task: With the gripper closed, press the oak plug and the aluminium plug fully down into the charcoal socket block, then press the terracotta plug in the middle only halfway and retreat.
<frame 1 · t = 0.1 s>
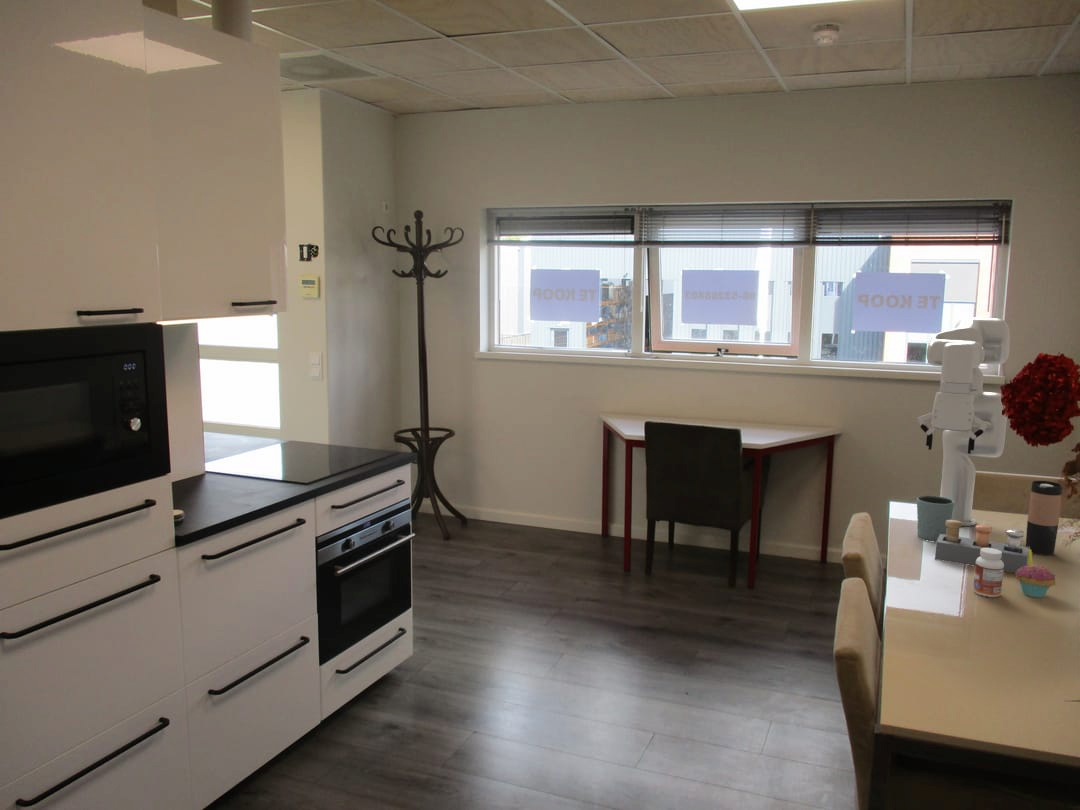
hand: (949, 450, 228), 31 cm above the table, tool pointing down, fingers open, 9 cm apart
travel mug: (1039, 551, 242), on the table
green tapered cup: (931, 538, 253), on the table
socket block: (980, 562, 232), on the table
cupcake: (1033, 594, 209), on the table
oak plug: (952, 532, 234), point 7 cm above the table, slide at 0.0 cm
terracotta plug: (982, 536, 231), point 7 cm above the table, slide at 0.0 cm
aluminium plug: (1013, 541, 227), point 7 cm above the table, slide at 0.0 cm
pill bottle: (986, 594, 209), on the table
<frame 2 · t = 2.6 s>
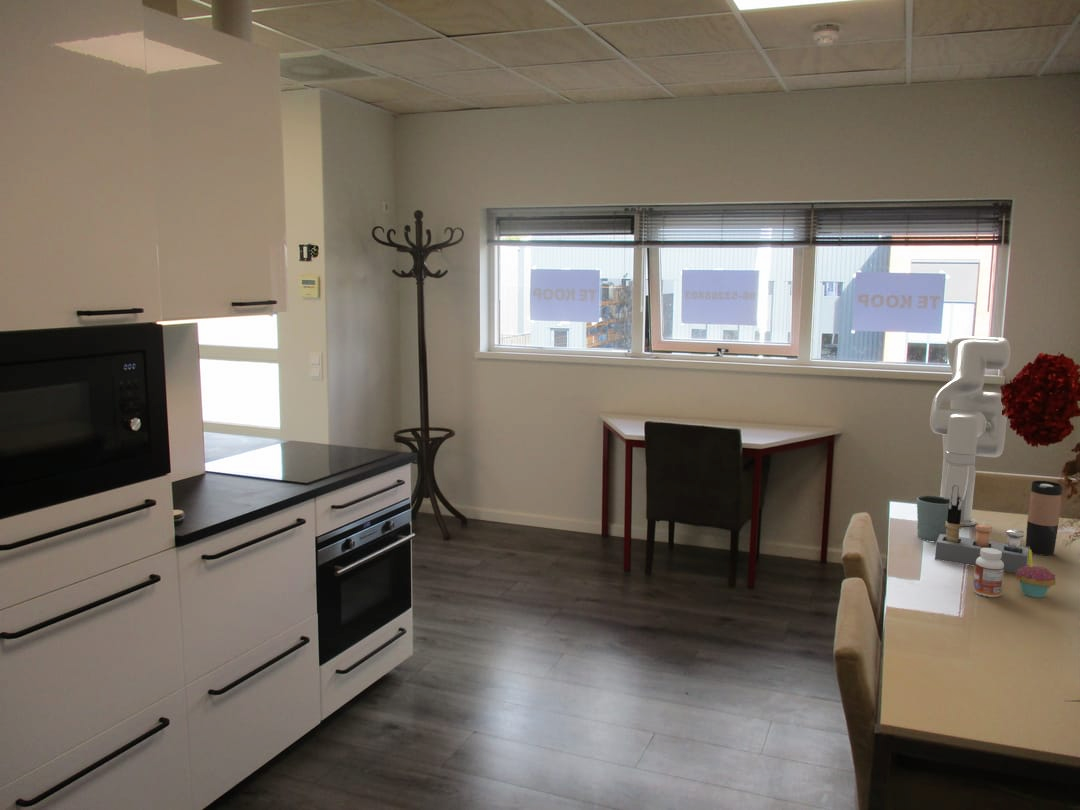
hand: (953, 522, 234), 10 cm above the table, tool pointing down, fingers closed
oak plug: (952, 533, 234), point 7 cm above the table, slide at 0.3 cm, touching gripper
everything else where it was.
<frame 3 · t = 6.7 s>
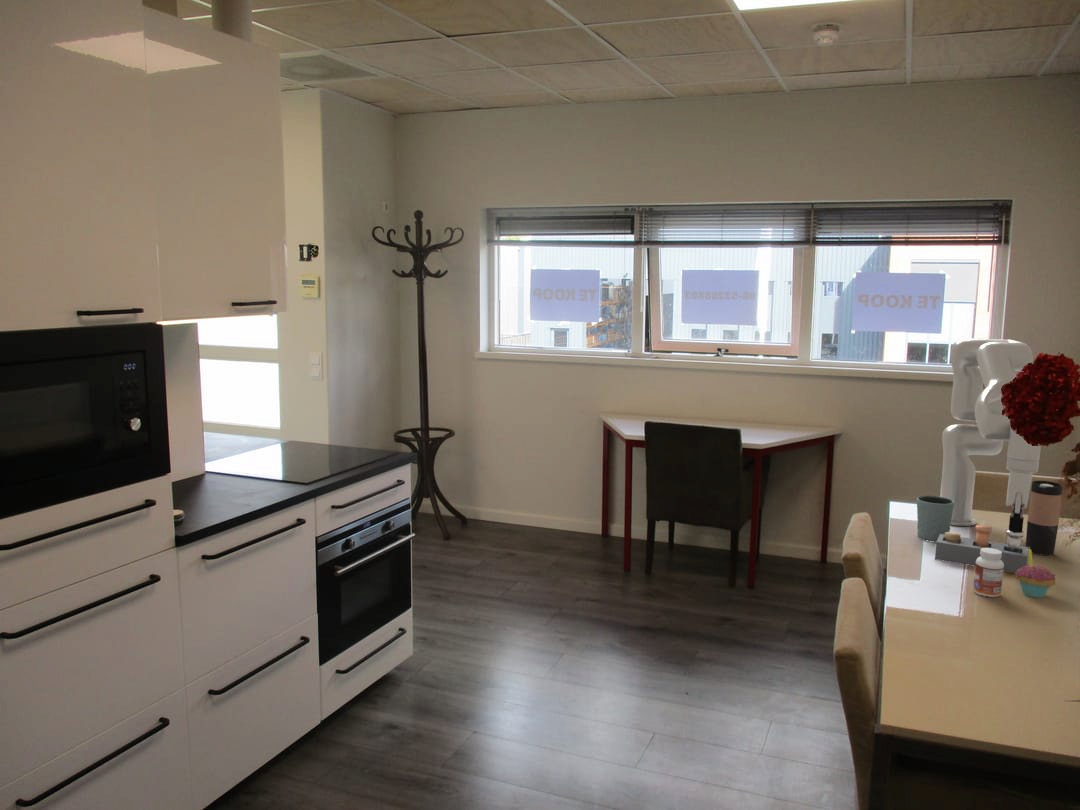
hand: (1015, 531, 226), 10 cm above the table, tool pointing down, fingers closed
oak plug: (951, 544, 235), point 4 cm above the table, slide at 3.6 cm
aluminium plug: (1013, 541, 227), point 7 cm above the table, slide at 0.0 cm, touching gripper
everything else where it was.
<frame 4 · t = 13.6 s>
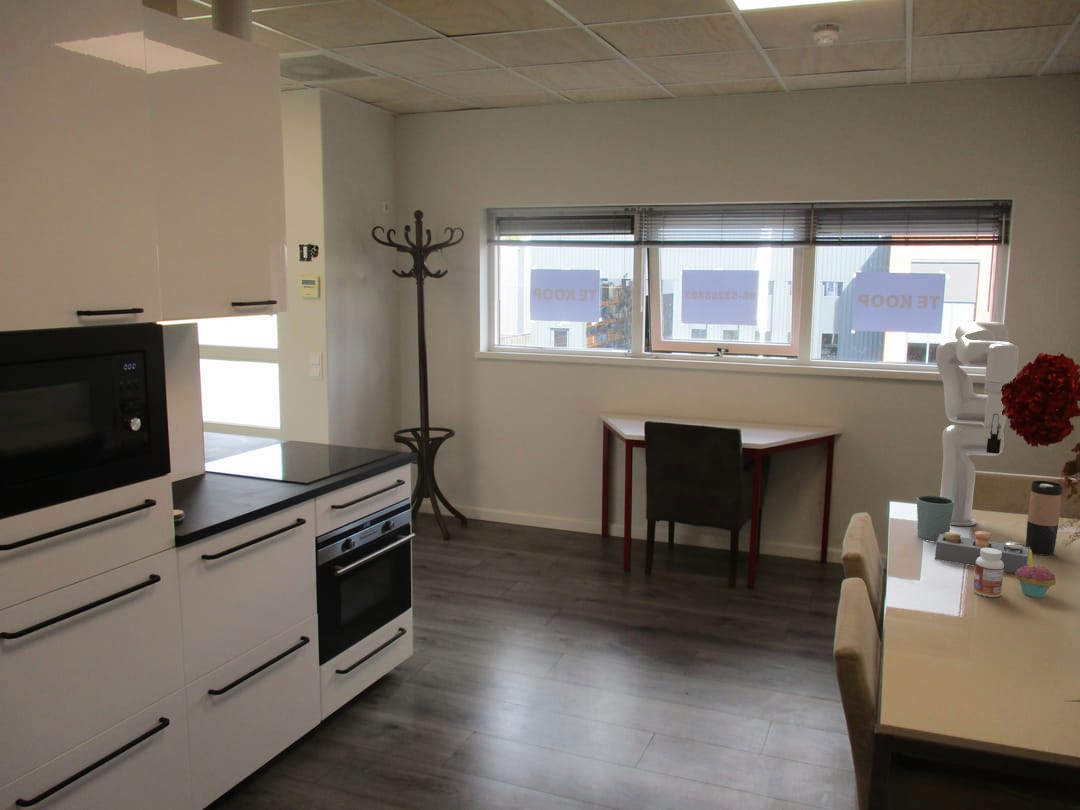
hand: (992, 452, 236), 29 cm above the table, tool pointing down, fingers closed
terracotta plug: (982, 543, 231), point 5 cm above the table, slide at 1.9 cm
aluminium plug: (1012, 554, 227), point 4 cm above the table, slide at 3.6 cm
everything else where it was.
at the end: oak plug slide at 3.6 cm; aluminium plug slide at 3.6 cm; terracotta plug slide at 1.9 cm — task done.
